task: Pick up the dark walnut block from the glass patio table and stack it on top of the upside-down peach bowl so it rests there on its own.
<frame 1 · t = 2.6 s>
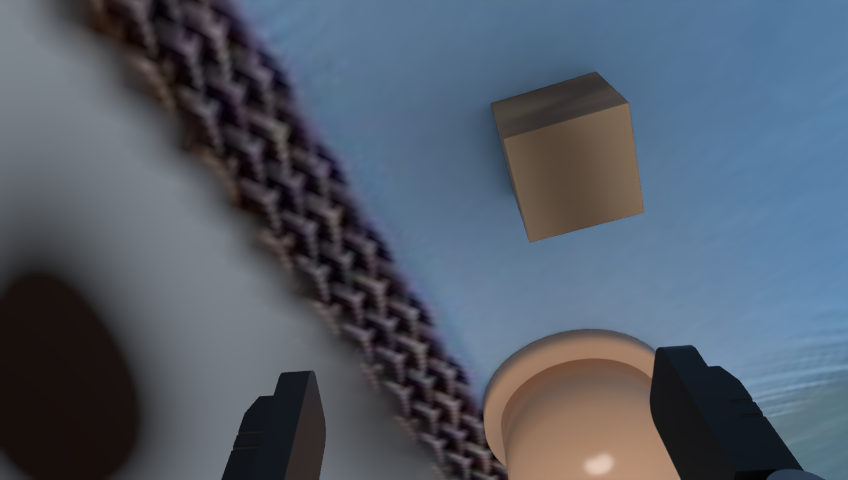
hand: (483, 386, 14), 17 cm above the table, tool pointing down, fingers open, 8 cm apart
walnut block: (552, 136, 29), on the table
upside-down peach bowl: (576, 403, 38), on the table
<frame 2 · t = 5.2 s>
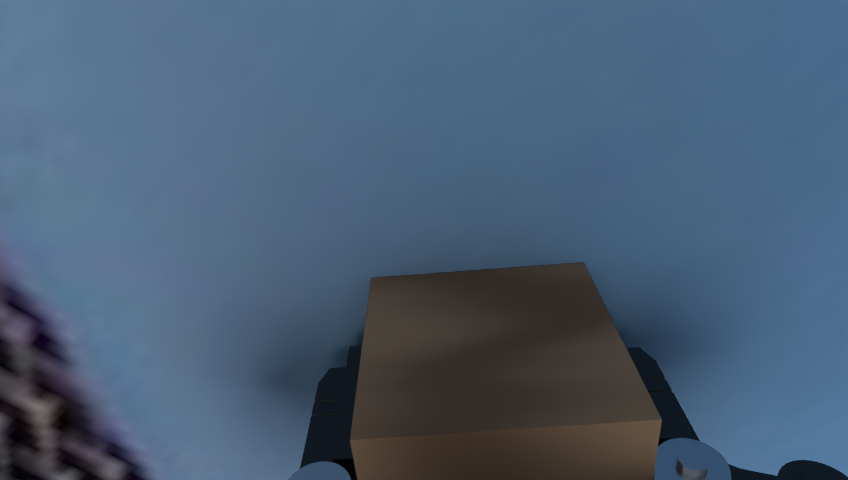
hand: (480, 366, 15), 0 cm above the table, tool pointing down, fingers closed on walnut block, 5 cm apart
walnut block: (480, 354, 15), on the table, touching gripper
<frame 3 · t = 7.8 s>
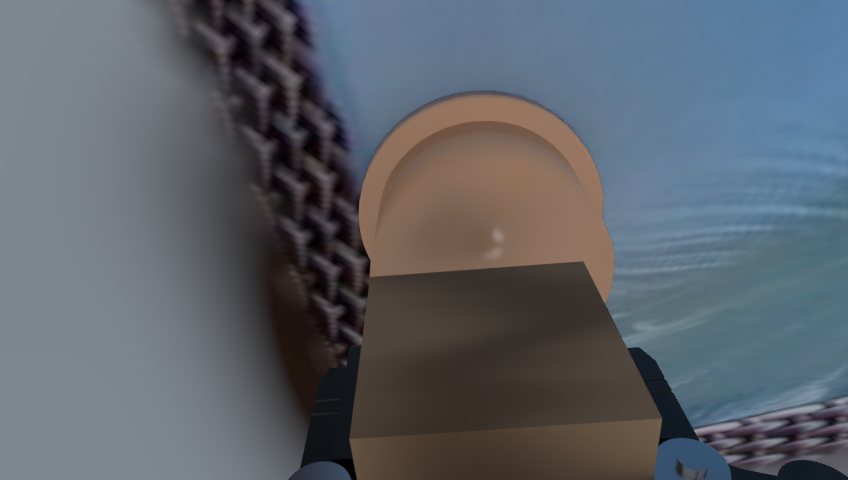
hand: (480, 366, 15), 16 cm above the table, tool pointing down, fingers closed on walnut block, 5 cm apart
walnut block: (480, 353, 15), point 16 cm above the table, touching gripper
upside-down peach bowl: (478, 206, 30), on the table
when the fingers open (9 cm above the table, at t = 10.2 s): walnut block drops 2 cm, resting on upside-down peach bowl.
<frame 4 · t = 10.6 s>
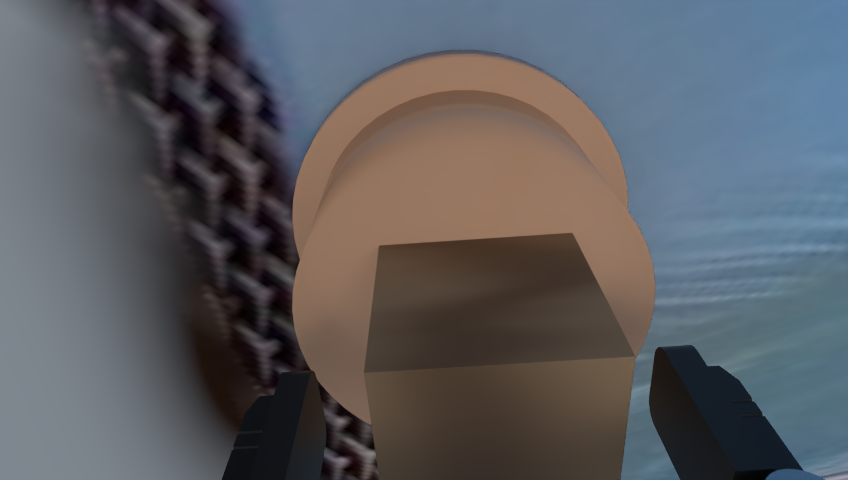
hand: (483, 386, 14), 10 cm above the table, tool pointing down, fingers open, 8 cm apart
walnut block: (477, 317, 16), point 7 cm above the table, touching upside-down peach bowl
upside-down peach bowl: (457, 211, 23), on the table, touching walnut block
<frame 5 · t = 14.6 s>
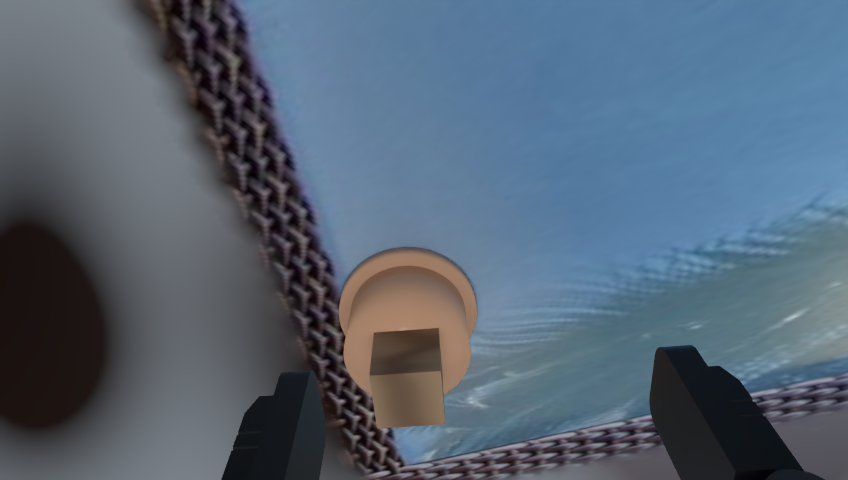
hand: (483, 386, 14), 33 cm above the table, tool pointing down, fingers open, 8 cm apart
walnut block: (409, 355, 47), point 7 cm above the table, touching upside-down peach bowl
upside-down peach bowl: (408, 305, 53), on the table, touching walnut block
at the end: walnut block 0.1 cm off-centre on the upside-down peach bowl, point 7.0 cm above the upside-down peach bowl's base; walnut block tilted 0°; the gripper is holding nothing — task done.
